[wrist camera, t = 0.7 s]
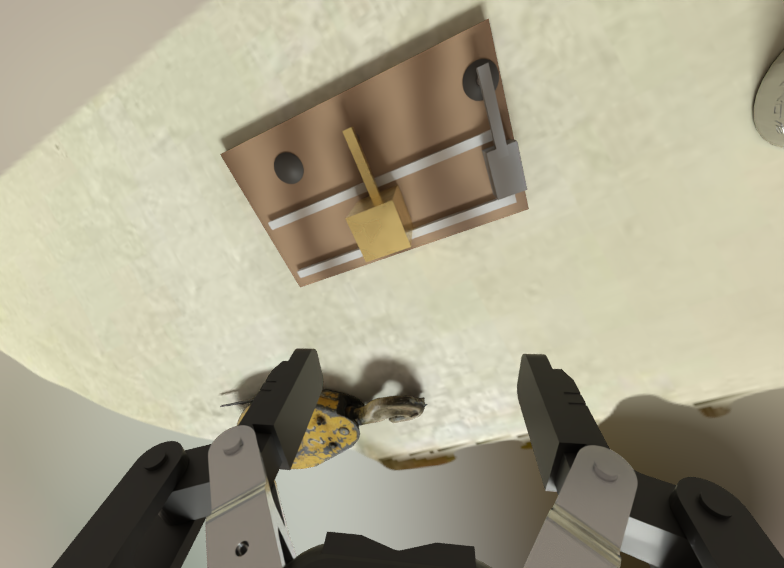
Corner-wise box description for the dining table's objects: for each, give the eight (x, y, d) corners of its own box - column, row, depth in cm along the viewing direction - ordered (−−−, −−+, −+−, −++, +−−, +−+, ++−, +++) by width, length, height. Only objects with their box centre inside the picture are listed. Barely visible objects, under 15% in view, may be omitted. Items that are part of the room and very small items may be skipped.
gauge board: (485, 22, 24) (494, 9, 21) (524, 205, 30) (536, 215, 27) (227, 152, 30) (204, 157, 27) (303, 282, 36) (292, 297, 33)
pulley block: (440, 466, 40) (246, 488, 47) (440, 431, 46) (266, 456, 53) (408, 376, 36) (201, 415, 43) (412, 349, 42) (228, 388, 49)
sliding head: (372, 118, 26) (359, 119, 21) (412, 224, 30) (411, 247, 25) (331, 137, 27) (309, 143, 22) (375, 237, 31) (366, 262, 26)
